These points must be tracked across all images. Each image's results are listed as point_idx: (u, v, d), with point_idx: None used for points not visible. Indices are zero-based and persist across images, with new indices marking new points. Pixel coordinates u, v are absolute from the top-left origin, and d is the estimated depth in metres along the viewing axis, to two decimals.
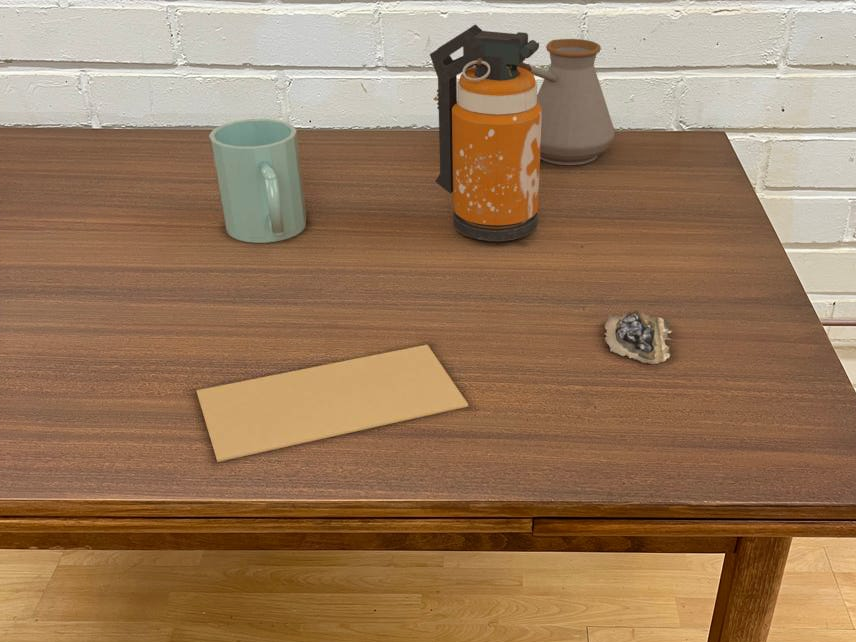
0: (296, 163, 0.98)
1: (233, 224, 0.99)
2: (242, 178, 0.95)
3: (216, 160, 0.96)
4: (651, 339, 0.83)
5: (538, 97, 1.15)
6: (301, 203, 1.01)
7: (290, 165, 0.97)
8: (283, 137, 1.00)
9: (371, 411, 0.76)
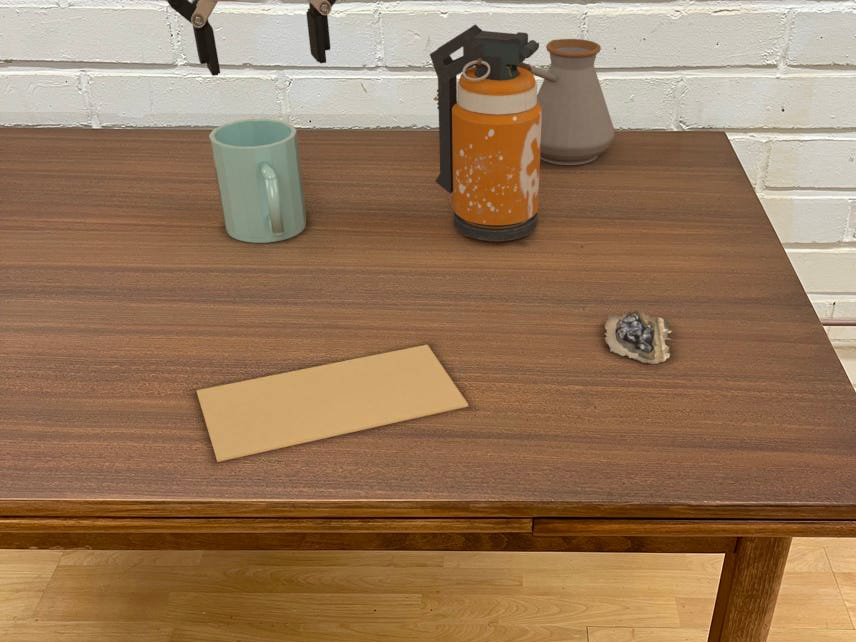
0: (296, 163, 0.98)
1: (233, 224, 0.99)
2: (242, 178, 0.95)
3: (216, 160, 0.96)
4: (651, 339, 0.83)
5: (538, 97, 1.15)
6: (301, 203, 1.01)
7: (290, 165, 0.97)
8: (283, 137, 1.00)
9: (371, 411, 0.76)
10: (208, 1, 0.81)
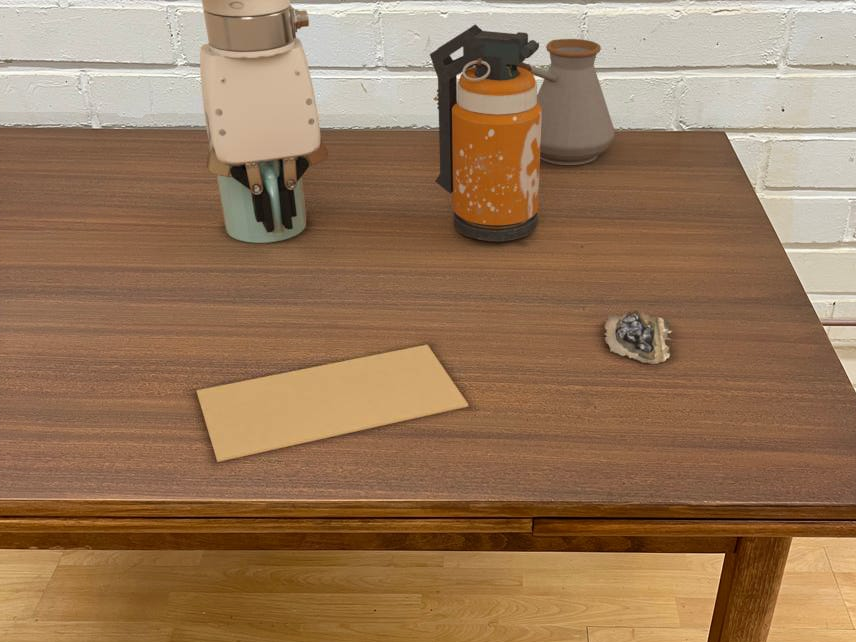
0: None
1: (233, 224, 0.99)
2: None
3: None
4: (651, 339, 0.83)
5: (538, 97, 1.15)
6: (301, 203, 1.01)
7: None
8: None
9: (371, 411, 0.76)
10: (252, 170, 0.90)
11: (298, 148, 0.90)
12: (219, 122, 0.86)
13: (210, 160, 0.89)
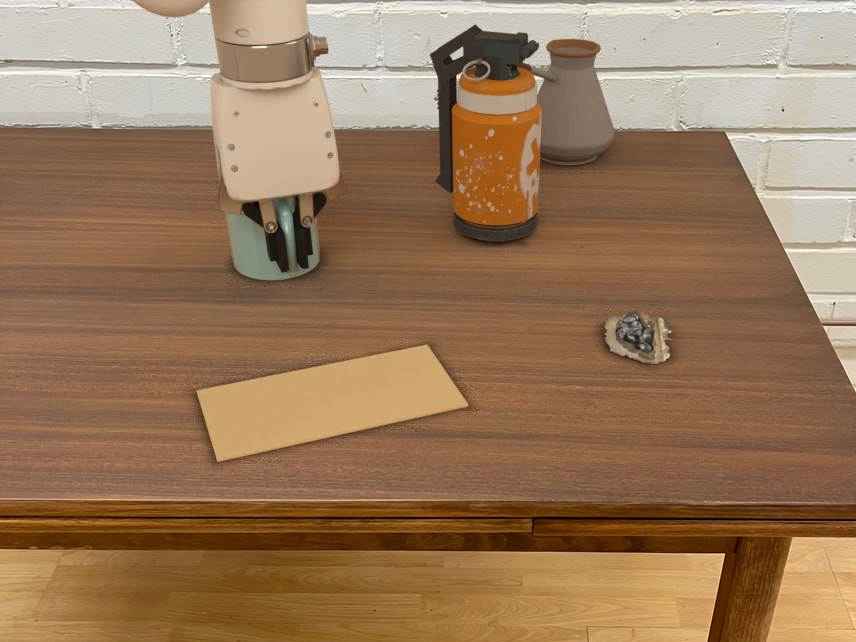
0: None
1: (243, 260, 0.93)
2: None
3: None
4: (651, 339, 0.83)
5: (538, 97, 1.15)
6: (315, 237, 0.94)
7: None
8: None
9: (371, 411, 0.76)
10: (266, 207, 0.84)
11: (316, 184, 0.84)
12: (231, 157, 0.79)
13: (221, 197, 0.83)
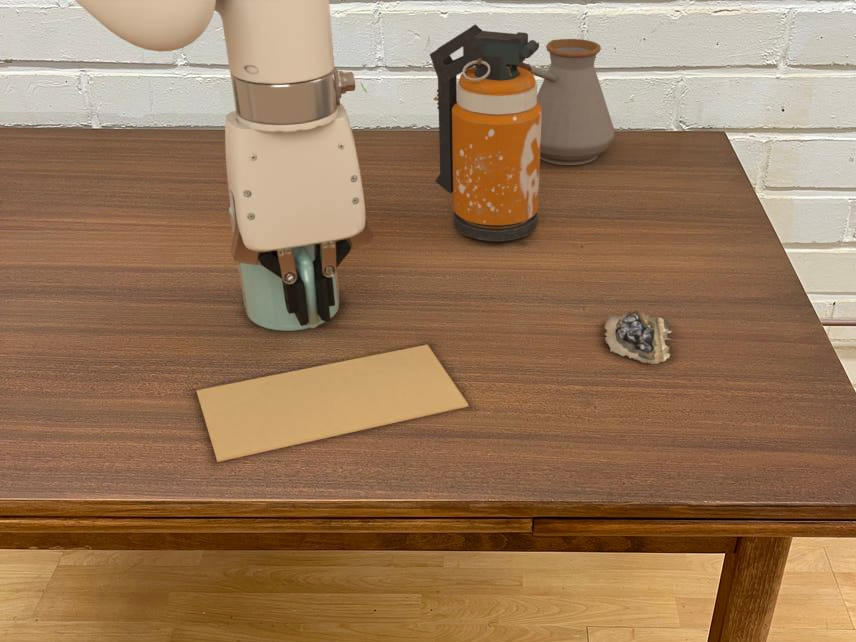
0: None
1: (257, 310, 0.85)
2: None
3: None
4: (651, 339, 0.83)
5: (538, 97, 1.15)
6: (335, 283, 0.87)
7: None
8: None
9: (371, 411, 0.76)
10: (285, 257, 0.76)
11: (339, 231, 0.76)
12: (248, 205, 0.72)
13: (235, 246, 0.75)
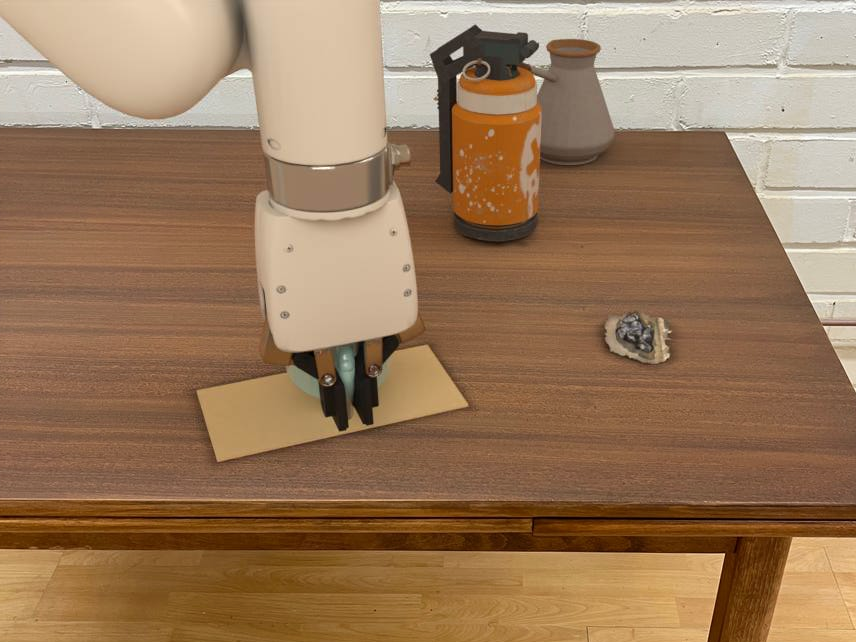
0: None
1: (293, 370, 0.74)
2: None
3: None
4: (651, 339, 0.83)
5: (538, 97, 1.15)
6: None
7: None
8: None
9: None
10: (323, 357, 0.65)
11: (388, 327, 0.64)
12: (281, 302, 0.60)
13: (265, 346, 0.64)
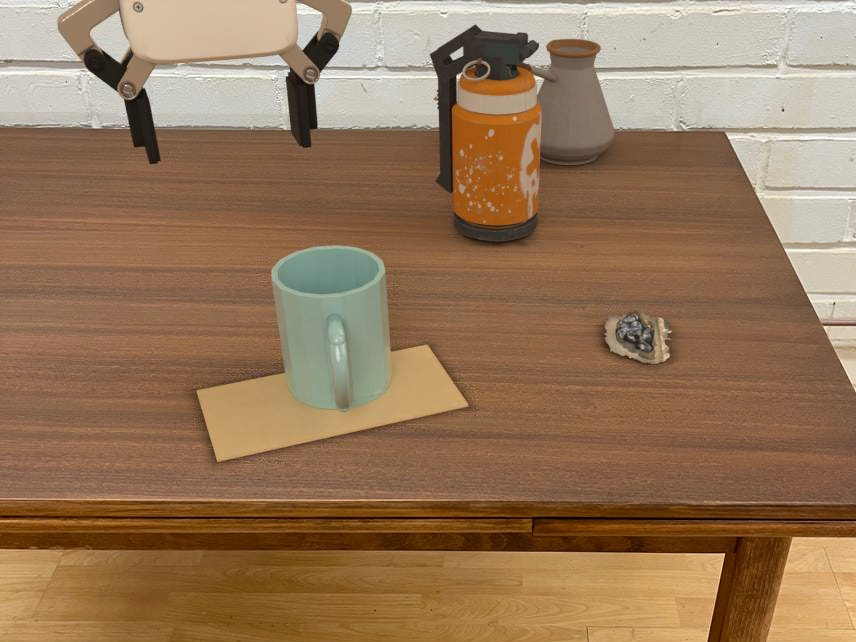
0: (380, 313, 0.73)
1: (293, 382, 0.76)
2: (305, 332, 0.72)
3: (276, 303, 0.73)
4: (651, 339, 0.83)
5: (538, 97, 1.15)
6: (384, 361, 0.76)
7: (371, 317, 0.72)
8: (371, 273, 0.76)
9: (371, 411, 0.76)
10: (142, 63, 0.56)
11: (262, 42, 0.57)
12: None
13: (72, 13, 0.54)
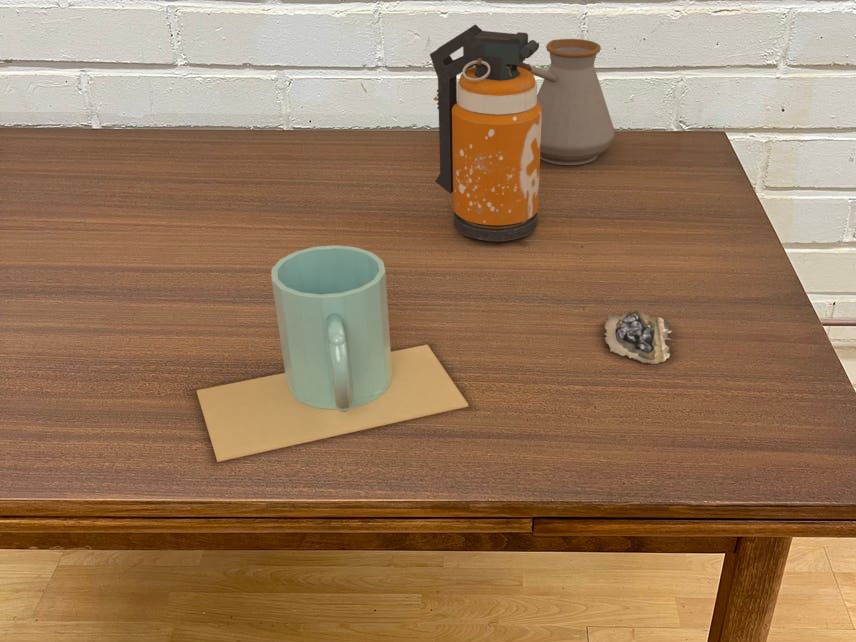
0: (380, 313, 0.73)
1: (293, 382, 0.76)
2: (305, 332, 0.72)
3: (276, 303, 0.73)
4: (651, 339, 0.83)
5: (538, 97, 1.15)
6: (384, 361, 0.76)
7: (371, 317, 0.72)
8: (371, 273, 0.76)
9: (371, 411, 0.76)
10: None
11: None
12: None
13: None
